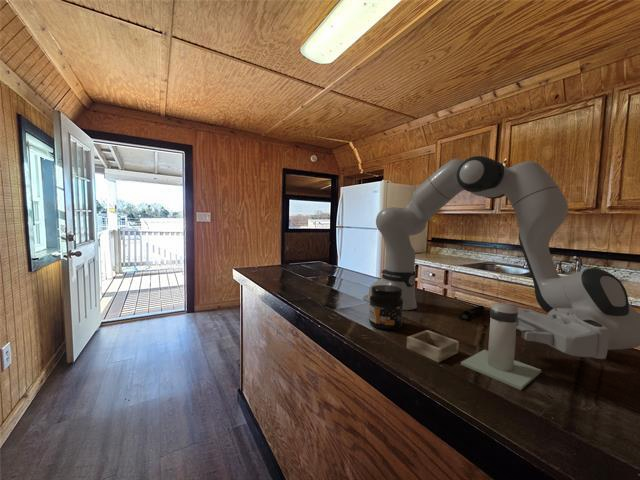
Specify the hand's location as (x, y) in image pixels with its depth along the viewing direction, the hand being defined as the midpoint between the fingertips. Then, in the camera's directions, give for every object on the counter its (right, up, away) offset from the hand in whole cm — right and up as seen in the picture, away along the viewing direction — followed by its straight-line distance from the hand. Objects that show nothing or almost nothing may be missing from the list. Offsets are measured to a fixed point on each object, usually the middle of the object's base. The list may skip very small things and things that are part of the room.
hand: (508, 327), depth 63 cm
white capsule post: (-1, -9, +1) cm, 9 cm away
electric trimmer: (+13, -8, +38) cm, 41 cm away
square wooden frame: (-14, -9, +9) cm, 19 cm away
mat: (-1, -10, +1) cm, 10 cm away
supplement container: (-22, -8, +27) cm, 35 cm away
